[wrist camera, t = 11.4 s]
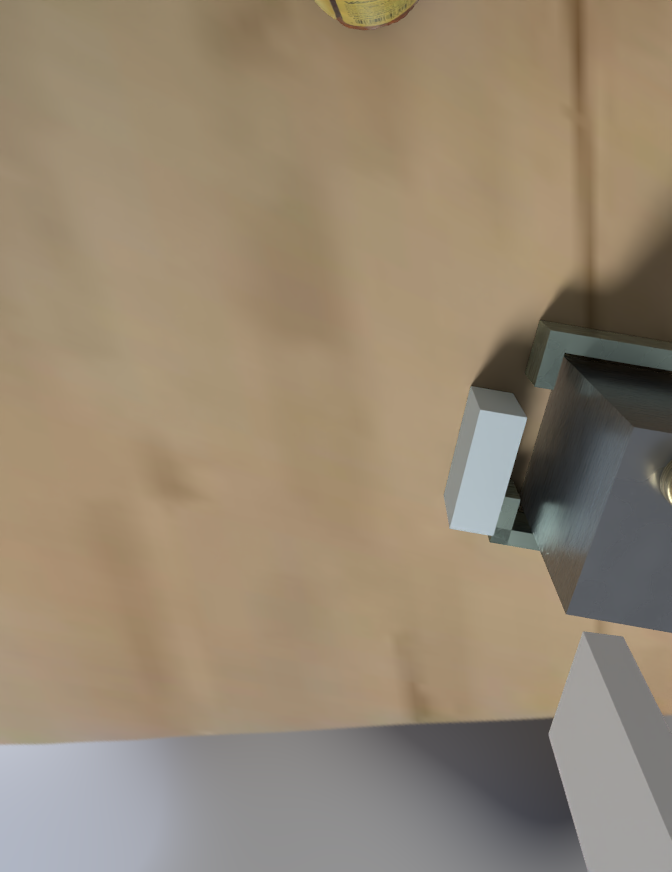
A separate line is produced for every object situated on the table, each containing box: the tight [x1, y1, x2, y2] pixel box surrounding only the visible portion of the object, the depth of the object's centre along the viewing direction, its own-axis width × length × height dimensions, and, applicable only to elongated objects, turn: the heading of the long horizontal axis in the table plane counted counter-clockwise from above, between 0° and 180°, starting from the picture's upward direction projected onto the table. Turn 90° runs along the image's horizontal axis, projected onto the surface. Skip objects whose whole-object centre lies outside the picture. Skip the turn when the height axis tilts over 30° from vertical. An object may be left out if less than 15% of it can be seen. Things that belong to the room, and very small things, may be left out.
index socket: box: [488, 320, 672, 551], centre depth 35 cm, size 12×10×2 cm
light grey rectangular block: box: [444, 386, 527, 536], centre depth 35 cm, size 7×2×4 cm, turn 171°
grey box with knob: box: [519, 355, 672, 633], centre depth 31 cm, size 9×6×13 cm, turn 171°
